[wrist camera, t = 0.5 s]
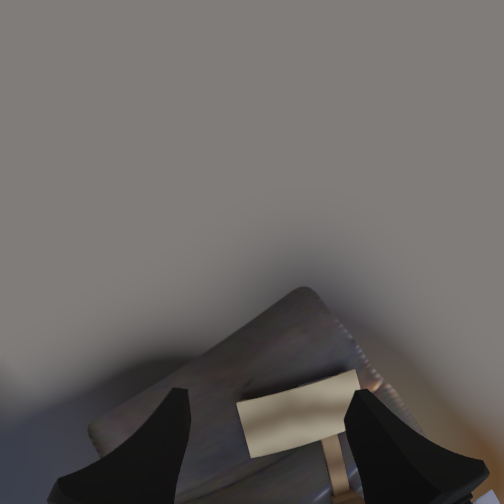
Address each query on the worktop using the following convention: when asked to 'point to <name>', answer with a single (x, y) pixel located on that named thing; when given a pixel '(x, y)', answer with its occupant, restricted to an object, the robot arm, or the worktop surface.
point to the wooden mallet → (338, 473)
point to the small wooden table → (297, 414)
